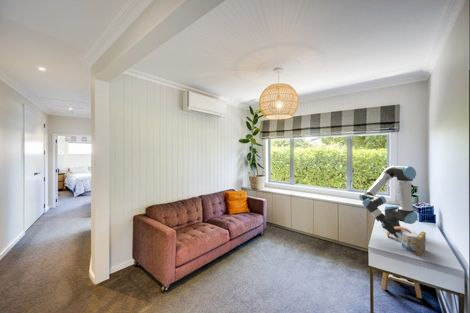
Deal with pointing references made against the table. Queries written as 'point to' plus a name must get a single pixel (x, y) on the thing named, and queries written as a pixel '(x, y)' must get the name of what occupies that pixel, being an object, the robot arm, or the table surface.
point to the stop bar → (420, 243)
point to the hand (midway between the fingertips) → (401, 240)
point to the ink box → (409, 241)
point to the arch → (399, 228)
